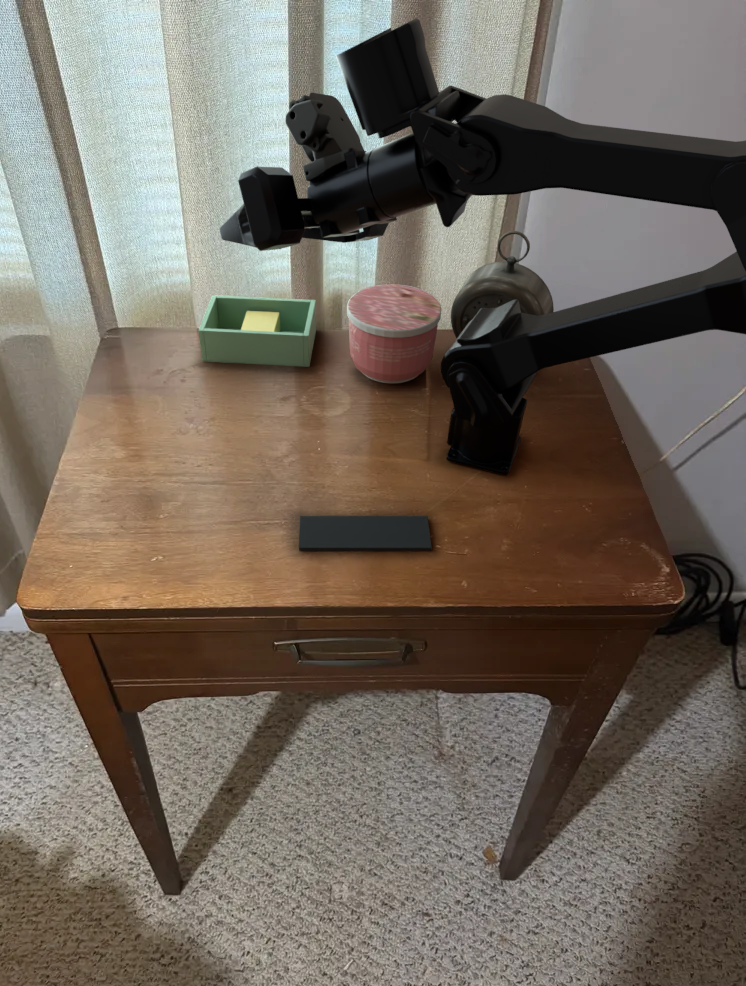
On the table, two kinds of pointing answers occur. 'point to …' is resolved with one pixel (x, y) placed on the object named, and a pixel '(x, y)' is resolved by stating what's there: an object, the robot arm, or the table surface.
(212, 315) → the storage box
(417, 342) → the container
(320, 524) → the desk mat
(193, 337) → the table surface
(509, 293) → the alarm clock
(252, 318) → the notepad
